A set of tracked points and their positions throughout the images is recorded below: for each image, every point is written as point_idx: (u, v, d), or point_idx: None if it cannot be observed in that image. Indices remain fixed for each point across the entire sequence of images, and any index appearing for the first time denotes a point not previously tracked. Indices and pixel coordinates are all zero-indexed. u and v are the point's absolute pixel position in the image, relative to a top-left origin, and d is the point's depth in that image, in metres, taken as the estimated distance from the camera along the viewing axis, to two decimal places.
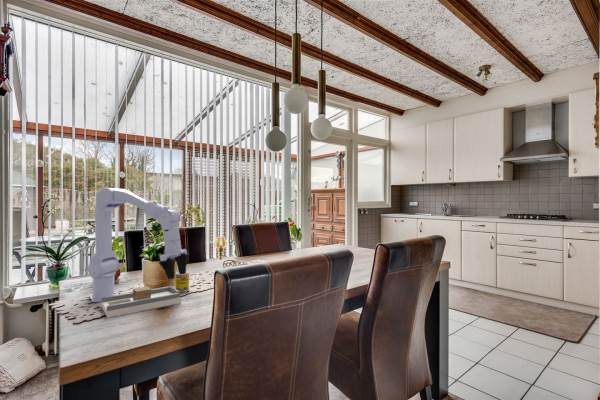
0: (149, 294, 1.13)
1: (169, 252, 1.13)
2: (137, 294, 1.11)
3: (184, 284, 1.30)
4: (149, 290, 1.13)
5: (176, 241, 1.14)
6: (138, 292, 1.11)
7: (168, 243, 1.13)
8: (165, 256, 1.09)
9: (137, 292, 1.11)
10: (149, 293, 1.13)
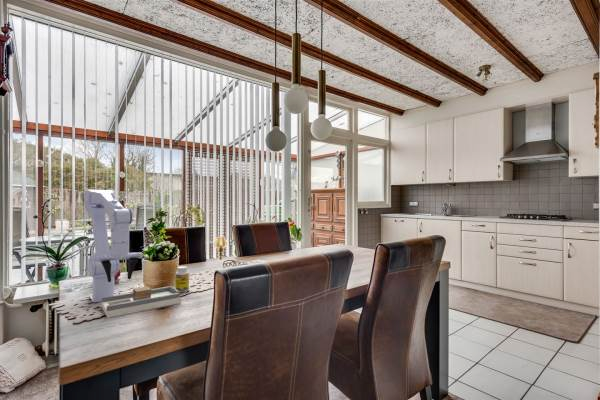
0: (149, 294, 1.13)
1: (110, 254, 1.07)
2: (137, 294, 1.11)
3: (184, 284, 1.30)
4: (149, 290, 1.13)
5: (117, 244, 1.06)
6: (138, 292, 1.11)
7: None
8: (97, 258, 1.04)
9: (137, 292, 1.11)
10: (149, 293, 1.13)
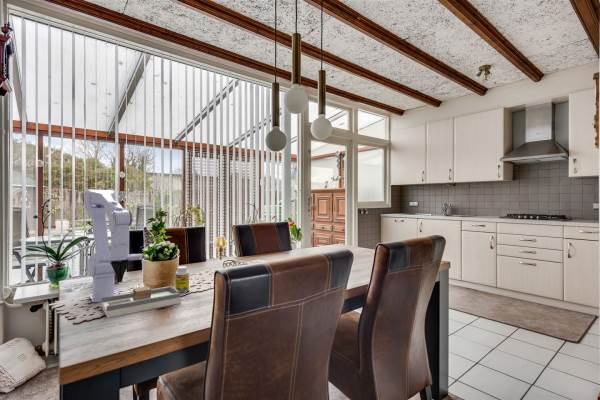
0: (149, 294, 1.13)
1: (110, 256, 1.07)
2: (137, 294, 1.11)
3: (184, 284, 1.30)
4: (149, 290, 1.13)
5: (117, 246, 1.06)
6: (138, 292, 1.11)
7: None
8: (97, 260, 1.04)
9: (137, 292, 1.11)
10: (149, 293, 1.13)
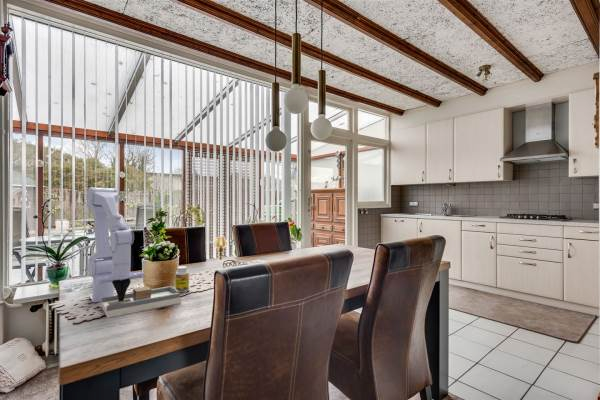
0: (149, 294, 1.13)
1: (112, 275, 1.08)
2: (137, 294, 1.11)
3: (184, 284, 1.30)
4: (149, 290, 1.13)
5: (118, 265, 1.07)
6: (138, 292, 1.11)
7: (112, 265, 1.08)
8: (99, 280, 1.04)
9: (137, 292, 1.11)
10: (149, 293, 1.13)
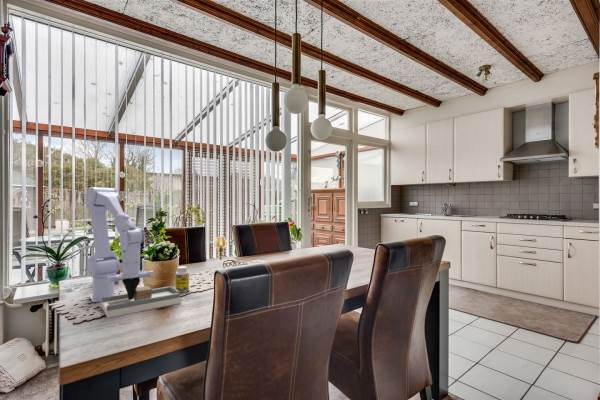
0: (150, 294, 1.14)
1: (122, 274, 1.10)
2: (138, 294, 1.11)
3: (184, 284, 1.30)
4: (150, 290, 1.14)
5: (128, 264, 1.09)
6: (139, 292, 1.11)
7: (122, 264, 1.10)
8: (109, 278, 1.06)
9: (138, 292, 1.11)
10: (150, 293, 1.14)
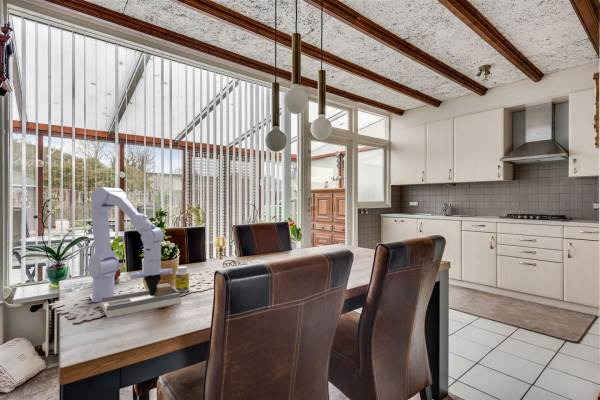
0: (170, 290, 1.18)
1: (144, 271, 1.14)
2: (159, 290, 1.16)
3: (184, 284, 1.30)
4: (170, 287, 1.18)
5: (150, 262, 1.14)
6: (160, 288, 1.16)
7: (144, 262, 1.14)
8: (133, 275, 1.11)
9: (159, 288, 1.16)
10: (170, 289, 1.18)
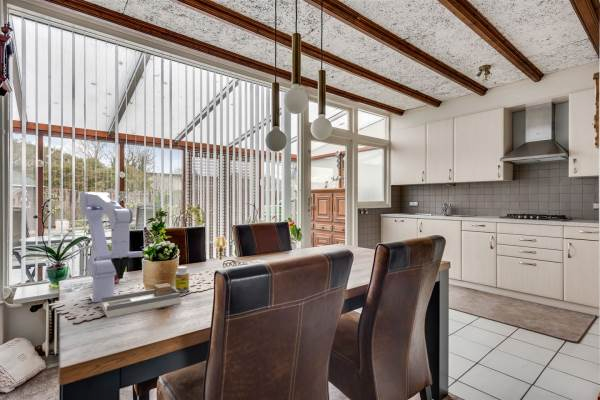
0: (170, 290, 1.18)
1: (111, 253, 1.10)
2: (159, 290, 1.16)
3: (184, 284, 1.30)
4: (170, 287, 1.18)
5: (117, 243, 1.09)
6: (160, 288, 1.16)
7: (111, 243, 1.10)
8: (98, 257, 1.07)
9: (159, 288, 1.16)
10: (170, 289, 1.18)
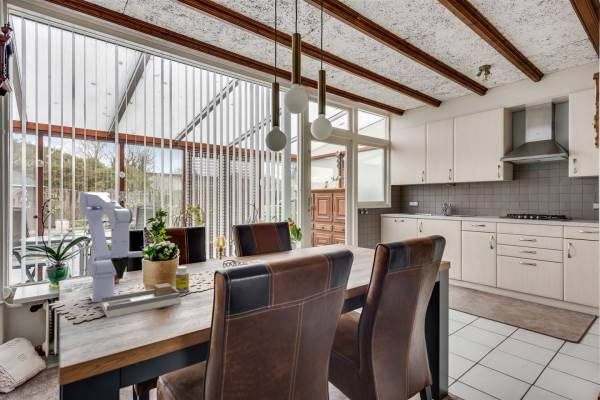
0: (170, 290, 1.18)
1: (111, 253, 1.10)
2: (159, 290, 1.16)
3: (184, 284, 1.30)
4: (170, 287, 1.18)
5: (117, 243, 1.09)
6: (160, 288, 1.16)
7: (111, 243, 1.10)
8: (98, 257, 1.07)
9: (159, 288, 1.16)
10: (170, 289, 1.18)
